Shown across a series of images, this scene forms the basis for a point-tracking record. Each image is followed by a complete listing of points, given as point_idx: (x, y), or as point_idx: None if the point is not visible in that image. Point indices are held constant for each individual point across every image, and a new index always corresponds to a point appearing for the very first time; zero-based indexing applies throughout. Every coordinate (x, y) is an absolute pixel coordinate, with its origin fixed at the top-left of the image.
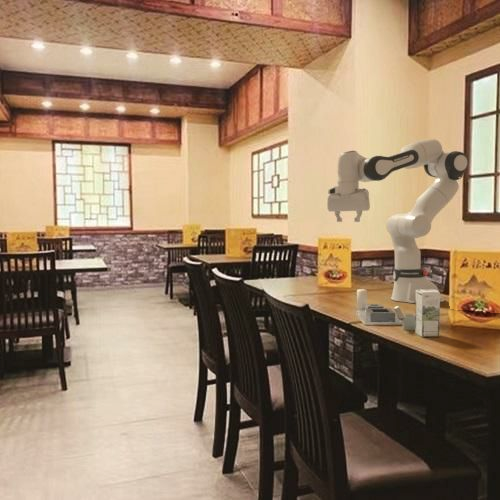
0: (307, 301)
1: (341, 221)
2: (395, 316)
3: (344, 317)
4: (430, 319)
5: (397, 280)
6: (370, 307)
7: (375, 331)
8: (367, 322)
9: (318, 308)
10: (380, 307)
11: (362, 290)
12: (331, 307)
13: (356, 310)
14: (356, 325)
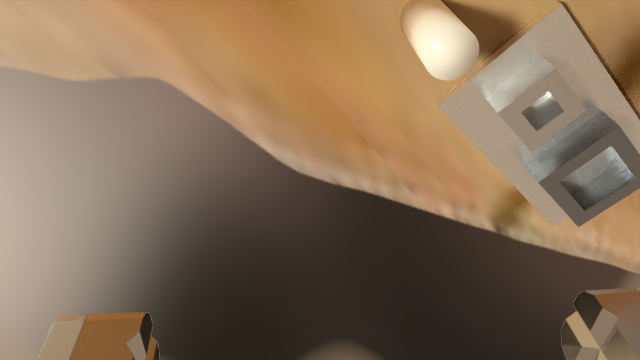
0: (71, 31)
1: (147, 323)
2: (622, 98)
3: (443, 183)
4: None
5: None
6: (538, 143)
7: (599, 250)
8: (559, 220)
9: (259, 129)
10: (573, 117)
11: (460, 64)
12: (284, 75)
13: (445, 104)
14: (527, 236)
